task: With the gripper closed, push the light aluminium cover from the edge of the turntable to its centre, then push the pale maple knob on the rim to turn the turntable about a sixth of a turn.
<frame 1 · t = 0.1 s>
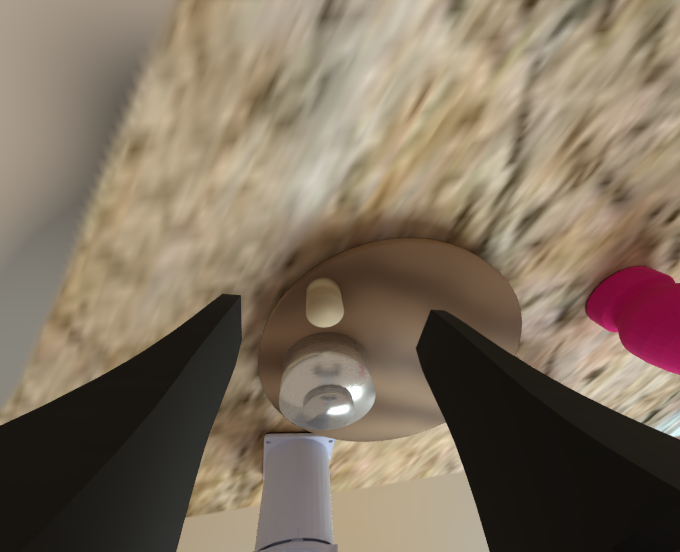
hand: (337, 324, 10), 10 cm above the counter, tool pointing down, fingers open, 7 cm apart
pepper mill: (616, 293, 25), on the counter
turntable top: (394, 371, 22), point 3 cm above the counter, hinge at 0.0°, touching aluminium cover
aluminium cover: (325, 363, 22), point 2 cm above the counter, touching turntable top
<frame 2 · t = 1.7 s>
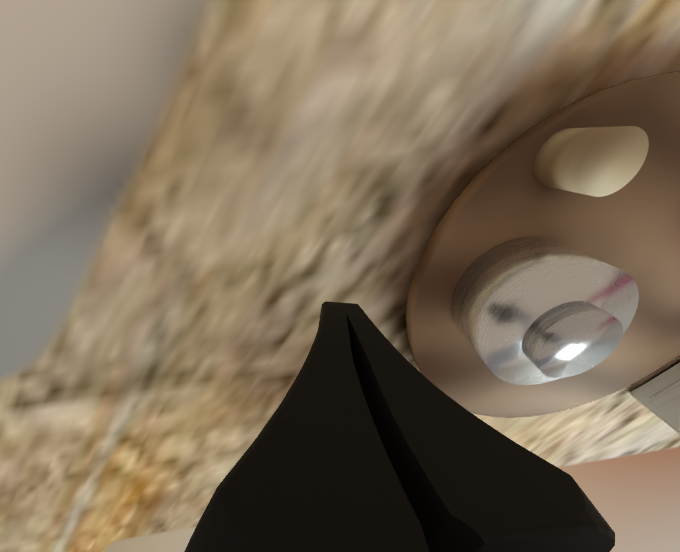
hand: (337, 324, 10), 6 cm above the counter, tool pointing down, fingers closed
supplement box: (674, 379, 25), on the counter
turntable top: (603, 306, 15), point 3 cm above the counter, hinge at 0.0°, touching aluminium cover
aluminium cover: (508, 293, 15), point 2 cm above the counter, touching turntable top
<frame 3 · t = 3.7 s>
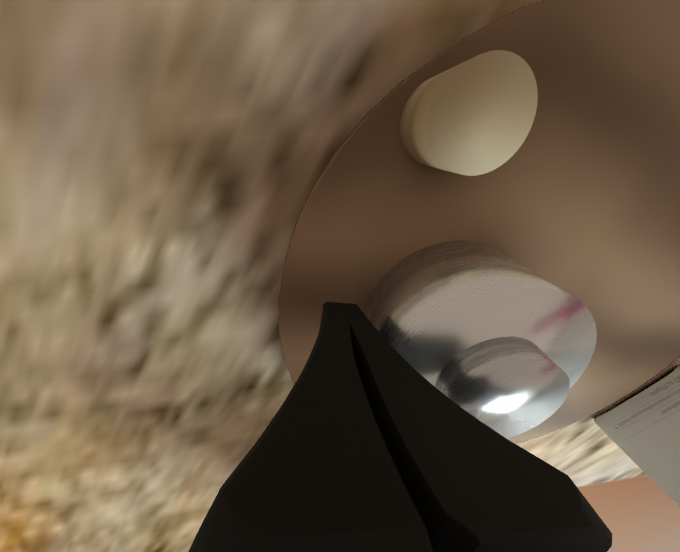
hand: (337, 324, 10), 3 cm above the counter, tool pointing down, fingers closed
supplement box: (646, 403, 22), on the counter
turntable top: (533, 329, 12), point 3 cm above the counter, hinge at 0.0°
aluminium cover: (440, 314, 12), point 2 cm above the counter, touching gripper
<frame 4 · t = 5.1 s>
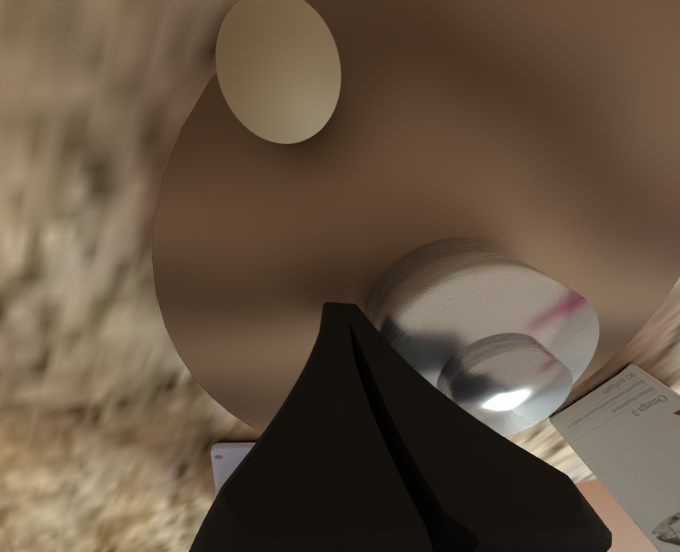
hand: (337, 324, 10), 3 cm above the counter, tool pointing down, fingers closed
supplement box: (604, 402, 21), on the counter
turntable top: (444, 323, 11), point 3 cm above the counter, hinge at 0.0°, touching aluminium cover
aluminium cover: (442, 311, 11), point 2 cm above the counter, touching gripper, turntable top
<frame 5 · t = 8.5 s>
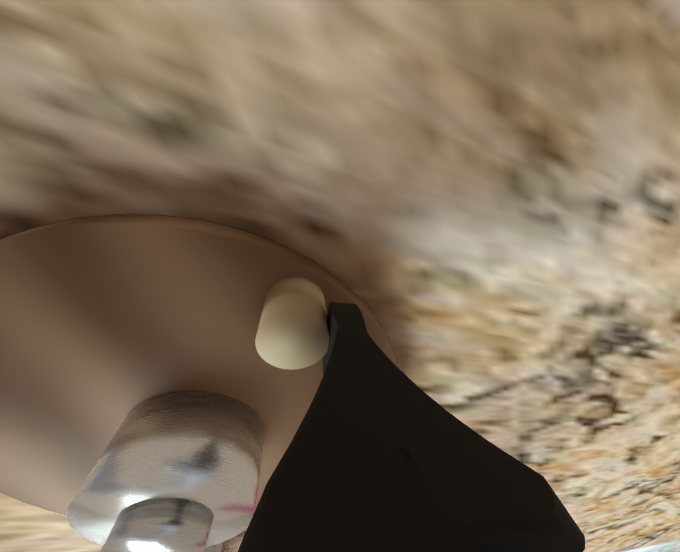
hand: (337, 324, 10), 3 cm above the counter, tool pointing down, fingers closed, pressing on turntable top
turntable top: (189, 445, 13), point 3 cm above the counter, hinge at 2.1°, touching aluminium cover, gripper
aluminium cover: (198, 434, 14), point 2 cm above the counter, touching turntable top
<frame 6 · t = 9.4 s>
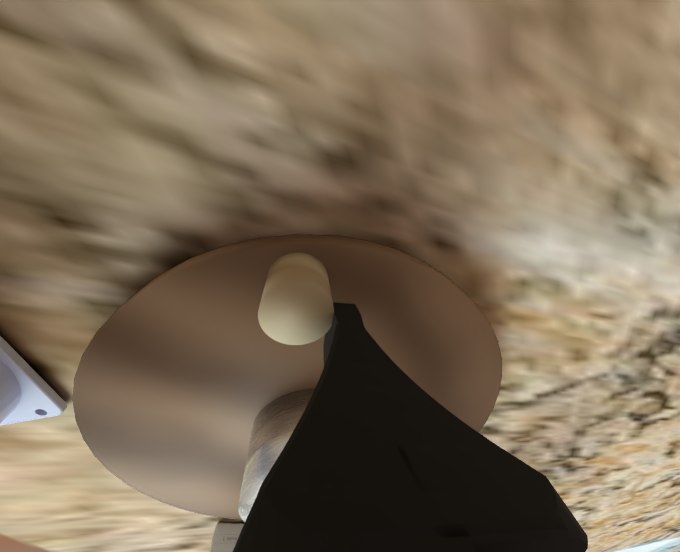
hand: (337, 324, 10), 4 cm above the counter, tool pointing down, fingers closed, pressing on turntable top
supplement box: (250, 534, 26), on the counter
turntable top: (311, 440, 15), point 3 cm above the counter, hinge at 38.9°, touching aluminium cover, gripper
aluminium cover: (314, 428, 15), point 2 cm above the counter, touching turntable top
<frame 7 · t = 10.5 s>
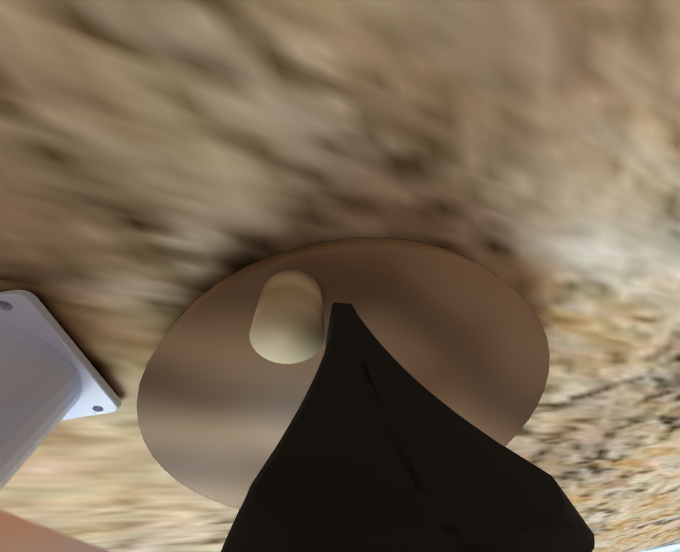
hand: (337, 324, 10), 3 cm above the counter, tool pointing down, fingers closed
turntable top: (358, 439, 15), point 3 cm above the counter, hinge at 56.2°, touching aluminium cover, gripper
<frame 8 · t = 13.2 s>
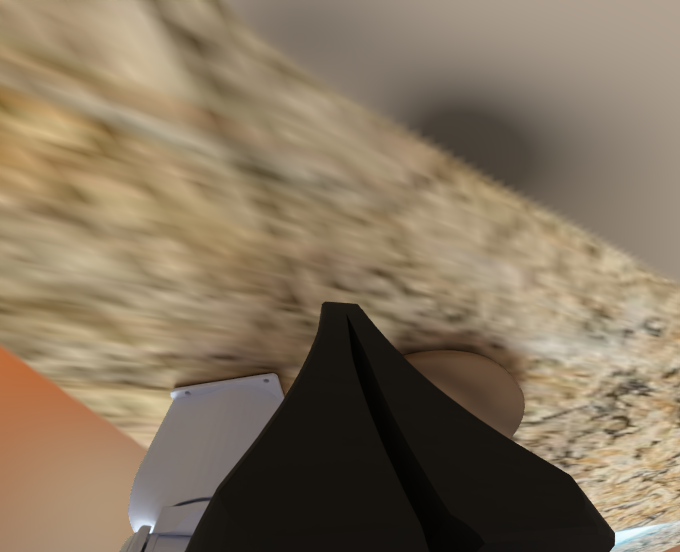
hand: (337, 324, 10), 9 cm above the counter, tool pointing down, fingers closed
turntable top: (420, 443, 27), point 3 cm above the counter, hinge at 58.0°, touching aluminium cover
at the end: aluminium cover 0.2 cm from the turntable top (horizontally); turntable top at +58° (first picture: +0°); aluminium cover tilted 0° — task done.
